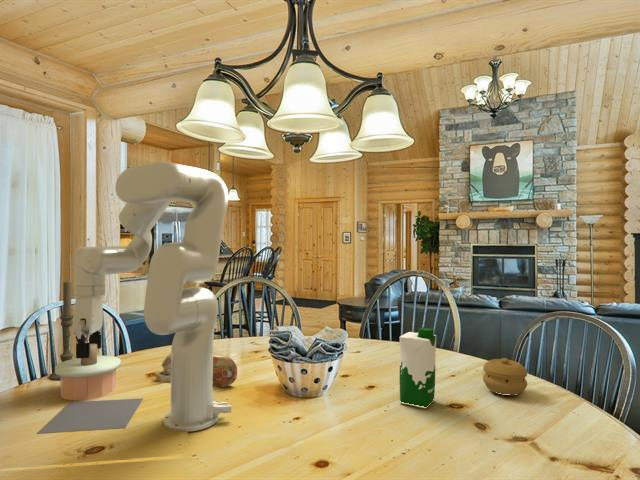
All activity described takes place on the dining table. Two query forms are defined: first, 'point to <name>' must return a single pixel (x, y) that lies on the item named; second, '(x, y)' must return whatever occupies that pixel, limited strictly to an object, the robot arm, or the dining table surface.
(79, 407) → the mat
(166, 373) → the ceramic model
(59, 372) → the lid
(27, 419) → the dining table surface
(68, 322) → the candlestick holder
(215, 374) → the tin
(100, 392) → the bowl
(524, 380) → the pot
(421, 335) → the milk carton
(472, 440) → the dining table surface
